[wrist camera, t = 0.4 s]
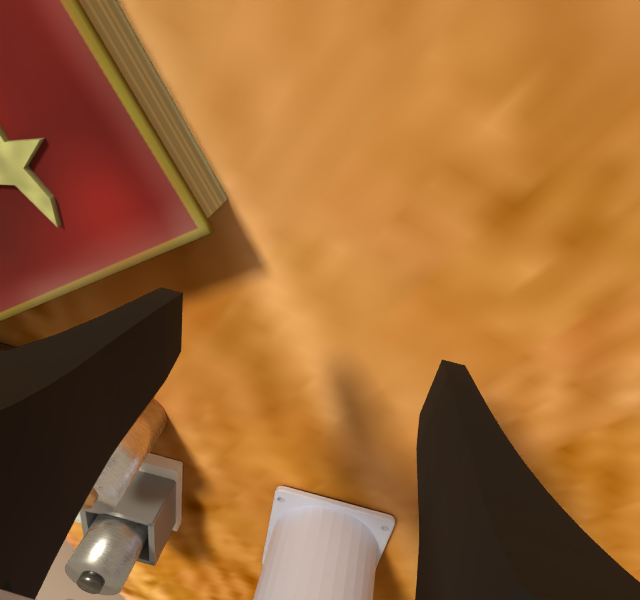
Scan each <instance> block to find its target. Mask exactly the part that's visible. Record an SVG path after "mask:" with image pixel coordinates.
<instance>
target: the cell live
mask: <svg viewBox="0 0 640 600" xmlns="http://www.w3.org/2000/svg"><path fill="white" fill-rule="evenodd" d="M166 424H167V415H166V412H165V410H164V409H163V407H162V406H161V405H160V404H159V403H158V402H157V401H156V400H154V399H152V400H151V401H150V403H149V404H148V406H147V407H146V408H145V410H144V411H143V412H142V414H141V415H140V416H139V418H138V419H137V421H136V422H135V423H134V425H133V426H132V427H131V429H130V430H129V431H128V433H127V434H126V436H125V437H124V438H123V440H122V441H121V442H120V444H119V445H118V447H117V448H116V450H115V451H114V453H113V454H112V456H111V457H110V459H109V461H108V462H107V464H106V466H105V468H104V469H103V471H102V473H101V474H100V476H99V478H98V480H97V481H96V483H95V485H94V487H93V488H92V490H91V492H90V494H89V495H88V497H87V499H86V501H85V503H84V505H83V506H82V508H81V509H82V510H84V511H87V512H91V513H97V514H104V513H109V512H111V511H113V510H114V509H115V507H116V506H117V504H118V503H119V501H120V499H121V498H122V496H123V494H124V493H125V491H126V490H127V488H128V486H129V485H130V483H131V481H132V480H133V478H134V477H135V475H136V473H137V472H138V470H139V468H140V467H141V465H142V464H143V462H144V460H145V459H146V457H147V455H148V454H149V452H150V451H151V449H152V447H153V446H154V444H155V442H156V441H157V439H158V438H159V436H160V434H161V433H162V431H163V429H164V428H165V426H166Z"/></svg>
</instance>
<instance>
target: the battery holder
mask: <svg viewBox="0 0 640 600" xmlns="http://www.w3.org/2000/svg"><path fill="white" fill-rule="evenodd" d="M182 473H183V462H181V461H177V460H173V459H170V458H166V457H162V456H159V455H155V454H151V453H149V454H148V455H147V457H146V459H145V460H144V462H143V464H142V465H141V467H140V468H139V470H138V472H137V473H136V475H135V477H134V478H133V480H132V481H131V483H130V485H129V486H128V488H127V490H126V491H125V493H124V494H123V496H122V498H121V499H120V501H119V503H118V504H117V506H116V507H115V509H114V510H113V511H111V512H109V513H105V514H109V515H113V516H116V517H120V518H123V519H127V520H130V521H134V522H137V523H141V524H144V525H148V539H147V541H146V543H145V545H144V547H143V549H142V551H141V553H140V555H139V556H138V558H137V560H136V561H139V562H142V563H146V564H149V565H153V566H154V565H156V563H157V561H158V559H159V556H160V554H161V552H162V550H163V548H164V546H165V544H166V542H167V540H168V538H169V536H170V534H171V531H172V530H173V531H177V530H178V528H179V526H180V524H181V522H182ZM97 515H98V514H97V513H91V512H87V511H84V510H82V509H81V510H80V512H79V514H78V515H77V517H76V519H75V521H74V522H77V523H81V524H82V528H83V534H84V536H85V534H86V533H87V531H88V530H89V528H90V526H91V525H92V523H93V522H94V520H95V519H96V517H97Z"/></svg>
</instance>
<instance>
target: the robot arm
mask: <svg viewBox="0 0 640 600" xmlns="http://www.w3.org/2000/svg"><path fill="white" fill-rule="evenodd" d="M182 301H183V293H181V292H177V291H173V290H169V289H165V288H160V289H157V290H155V291H153V292H150V293H148V294H146V295H144V296H142V297H140V298H138V299H136V300H134V301H132V302H130V303H128V304H126V305H123V306H121V307H119V308H117V309H115V310H113V311H111V312H108V313H106V314H104V315H102V316H100V317H98V318H95V319H93V320H90V321H88V322H86V323H83V324H81V325H78V326H76V327H74V328H71V329H69V330H66V331H64V332H62V333H59V334H56V335H54V336H51V337H48V338H45V339H42V340H39V341H36V342H33V343H30V344H27V345H24V346H20V347H17V348H14V349H10V350H6V351H2V352H0V600H35V598H36V596H37V594H38V592H39V590H40V588H41V586H42V584H43V581H44V580H45V578H46V575H47V573H48V571H49V569H50V567H51V565H52V563H53V561H54V559H55V557H56V555H57V553H58V552H59V549H60V548H61V546H62V544H63V542H64V540H65V538H66V536H67V534H68V532H69V530H70V528H71V527H72V525H73V523H74V521H75V519H76V517H77V515H78V514H79V512H80V510H81V508H82V506H83V505H84V503H85V501H86V499H87V497H88V495H89V494H90V492H91V490H92V488H93V487H94V485H95V483H96V481H97V480H98V478H99V476H100V474H101V473H102V471H103V469H104V468H105V466H106V464H107V462H108V461H109V459H110V457H111V456H112V454H113V453H114V451H115V450H116V448H117V447H118V445H119V444H120V442H121V441H122V440H123V438H124V437H125V436H126V434H127V433H128V431H129V430H130V429H131V427H132V426H133V425H134V423H135V422H136V421H137V419H138V418H139V416H140V415H141V414H142V412H143V411H144V410H145V408H146V407H147V406H148V404H149V403H150V401H151V400H152V399H153V397H154V396H155V394H156V393H157V392H158V390H159V389H160V387H161V386H162V385H163V383H164V382H165V380H166V378H167V377H168V375H169V373H170V371H171V369H172V368H173V366H174V364H175V362H176V360H177V358H178V356H179V354H180V352H181V336H182ZM417 478H418V504H419V555H418V571H417V585H416V598H415V600H640V582H639V581H638V580H636V579H635V578H634V577H633V576H632V575H630V574H629V573H628V572H627V571H626V570H625V569H623V568H622V567H621V566H620V565H619V564H618V563H617V562H616V561H615V560H614V559H613V558H611V557H610V556H609V555H608V554H607V553H606V552H605V551H604V550H603V549H602V548H601V547H600V546H599V545H598V544H596V543H595V542H594V541H593V540H592V539H591V538H590V537H589V536H588V535H587V534H586V533H585V532H584V531H583V530H582V529H581V528H580V527H579V526H578V525H577V523H576V522H575V521H574V520H573V519H572V518H571V517H570V516H569V515H568V514H567V513H566V512H565V511H564V510H563V509H562V507H561V506H560V505H559V504H558V503H557V502H556V501H555V500H554V499H553V497H552V496H551V495H550V494H549V493H548V492H547V490H546V489H545V488H544V487H543V486H542V484H541V483H540V482H539V481H538V479H537V478H536V477H535V476H534V474H533V473H532V472H531V471H530V469H529V468H528V467H527V465H526V464H525V463H524V461H523V460H522V459H521V457H520V456H519V454H518V453H517V452H516V450H515V449H514V447H513V446H512V444H511V443H510V441H509V440H508V439H507V437H506V436H505V434H504V432H503V431H502V429H501V428H500V426H499V424H498V423H497V421H496V420H495V418H494V416H493V415H492V413H491V411H490V410H489V408H488V406H487V404H486V403H485V401H484V399H483V397H482V395H481V394H480V392H479V390H478V388H477V386H476V385H475V383H474V381H473V379H472V377H471V375H470V374H469V372H468V370H467V368H466V366H465V365H461V364H457V363H453V362H449V361H445V360H442V361H441V364H440V366H439V369H438V371H437V373H436V376H435V378H434V381H433V383H432V386H431V388H430V391H429V393H428V395H427V398H426V400H425V403H424V405H423V408H422V410H421V413H420V417H419V427H418V437H417ZM394 526H395V519H394V517H393V516H391V515H389V514H385V513H381V512H378V511H374V510H370V509H367V508H363V507H359V506H356V505H352V504H348V503H345V502H341V501H337V500H334V499H330V498H326V497H323V496H319V495H315V494H312V493H308V492H304V491H301V490H297V489H293V488H290V487H286V486H279V487H277V488H276V491H275V496H274V501H273V506H272V511H271V517H270V522H269V527H268V532H267V538H266V543H265V548H264V553H263V558H262V564H263V567H262V571H261V574H260V578H259V581H258V585H257V588H256V592H255V595H254V599H253V600H373V592H374V581H375V569H376V567H377V565H378V562H379V560H380V558H381V555H382V553H383V551H384V549H385V546H386V544H387V542H388V539H389V537H390V535H391V532H392V530H393V528H394ZM67 600H72V599H67Z"/></svg>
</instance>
